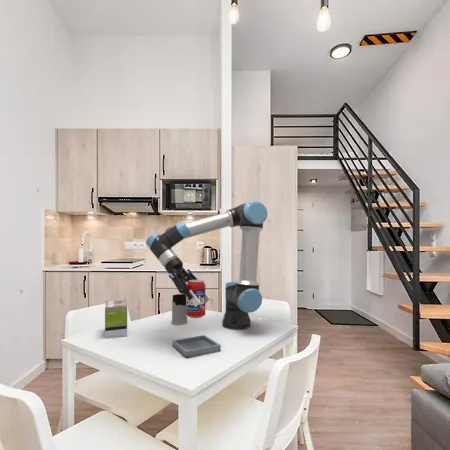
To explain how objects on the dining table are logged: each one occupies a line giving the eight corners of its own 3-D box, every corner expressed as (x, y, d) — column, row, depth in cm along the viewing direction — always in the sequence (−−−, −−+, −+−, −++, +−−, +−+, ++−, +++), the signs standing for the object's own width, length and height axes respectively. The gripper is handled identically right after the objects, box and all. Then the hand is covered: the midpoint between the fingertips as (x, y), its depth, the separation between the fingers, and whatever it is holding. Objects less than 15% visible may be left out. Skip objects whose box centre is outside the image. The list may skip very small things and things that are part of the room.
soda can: (204, 314, 129) (204, 279, 130) (206, 318, 121) (206, 281, 122) (186, 314, 128) (186, 279, 128) (186, 319, 120) (186, 281, 121)
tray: (204, 340, 134) (204, 335, 134) (220, 351, 121) (220, 345, 121) (172, 346, 126) (172, 340, 127) (186, 358, 113) (186, 351, 114)
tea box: (105, 330, 150) (105, 300, 151) (126, 328, 154) (126, 299, 155) (104, 339, 136) (105, 306, 137) (127, 336, 140) (127, 304, 141)
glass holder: (170, 321, 166) (170, 294, 167) (195, 319, 170) (195, 293, 171) (172, 326, 157) (172, 297, 158) (198, 323, 162) (198, 295, 163)
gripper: (179, 266, 141) (209, 303, 134) (151, 270, 123) (184, 313, 115) (188, 255, 139) (219, 292, 132) (161, 257, 121) (196, 301, 113)
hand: (203, 302), depth 123 cm, fingers closed on soda can, 8 cm apart
